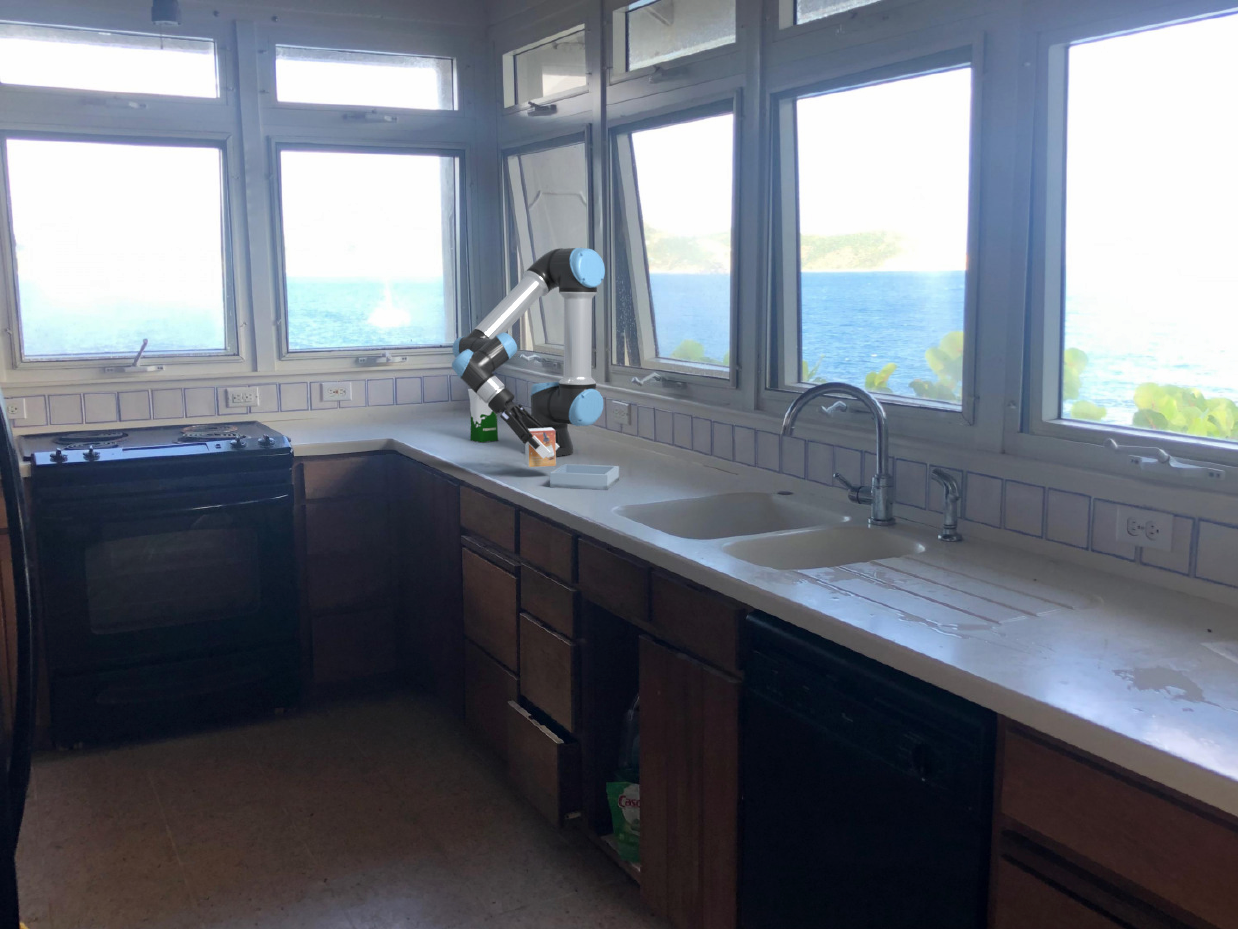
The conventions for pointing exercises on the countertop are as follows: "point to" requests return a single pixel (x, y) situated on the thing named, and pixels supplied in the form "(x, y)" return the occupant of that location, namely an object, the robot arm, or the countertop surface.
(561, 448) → the robot arm
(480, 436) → the milk carton
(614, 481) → the tray
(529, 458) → the small box
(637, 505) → the countertop surface
